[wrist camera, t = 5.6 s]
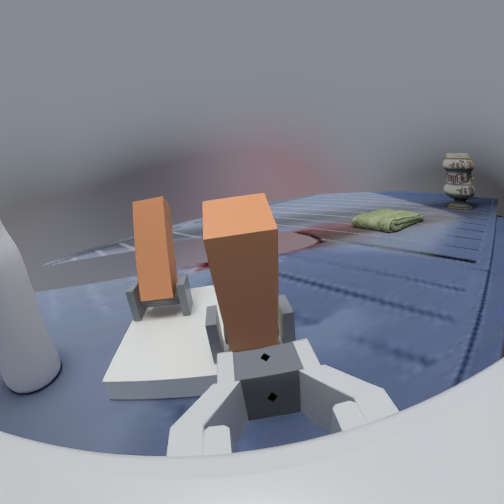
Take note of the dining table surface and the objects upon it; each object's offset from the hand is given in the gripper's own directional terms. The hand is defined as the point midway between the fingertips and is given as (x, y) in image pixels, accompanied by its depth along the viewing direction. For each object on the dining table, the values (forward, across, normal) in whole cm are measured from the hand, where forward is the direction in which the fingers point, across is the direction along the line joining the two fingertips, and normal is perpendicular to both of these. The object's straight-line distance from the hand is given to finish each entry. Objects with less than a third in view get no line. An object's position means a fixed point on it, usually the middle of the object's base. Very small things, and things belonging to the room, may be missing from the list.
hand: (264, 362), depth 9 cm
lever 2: (+12, 0, +6) cm, 13 cm away
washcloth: (+54, -38, +10) cm, 67 cm away
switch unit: (+18, +4, +10) cm, 21 cm away
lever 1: (+21, +9, +6) cm, 24 cm away
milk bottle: (+12, +24, +10) cm, 29 cm away
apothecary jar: (+64, -76, +10) cm, 100 cm away
